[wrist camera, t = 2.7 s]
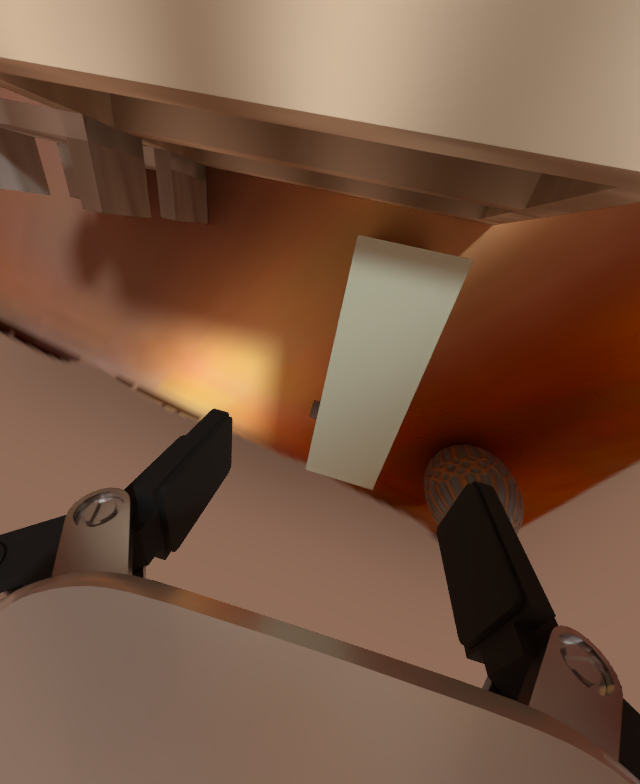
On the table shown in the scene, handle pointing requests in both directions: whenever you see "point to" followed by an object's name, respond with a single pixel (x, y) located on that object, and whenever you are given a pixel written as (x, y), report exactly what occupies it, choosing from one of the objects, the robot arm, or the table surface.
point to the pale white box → (380, 354)
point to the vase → (469, 480)
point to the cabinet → (328, 101)
